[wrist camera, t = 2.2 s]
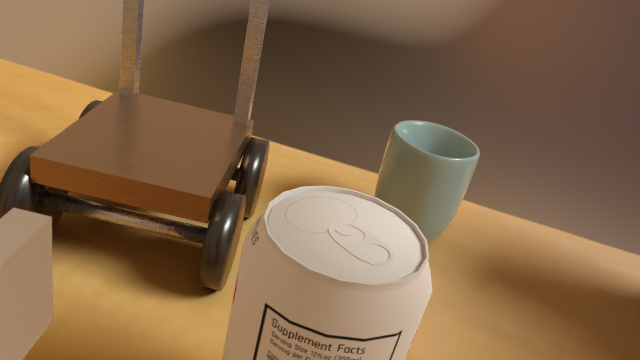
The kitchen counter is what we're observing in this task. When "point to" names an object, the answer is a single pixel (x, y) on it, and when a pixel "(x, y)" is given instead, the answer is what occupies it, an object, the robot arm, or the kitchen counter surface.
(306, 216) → the supplement can
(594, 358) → the kitchen counter surface
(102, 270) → the kitchen counter surface
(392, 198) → the cup
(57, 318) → the kitchen counter surface
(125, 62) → the trolley
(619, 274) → the kitchen counter surface
